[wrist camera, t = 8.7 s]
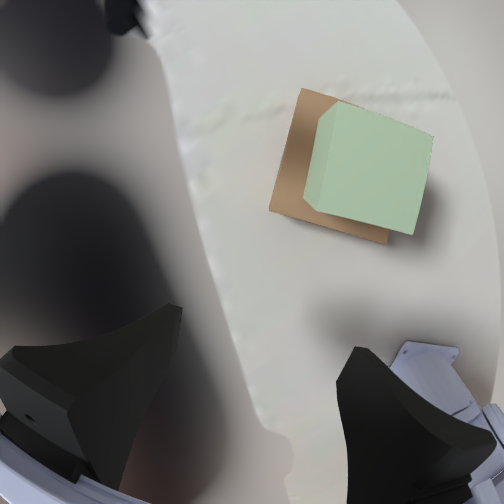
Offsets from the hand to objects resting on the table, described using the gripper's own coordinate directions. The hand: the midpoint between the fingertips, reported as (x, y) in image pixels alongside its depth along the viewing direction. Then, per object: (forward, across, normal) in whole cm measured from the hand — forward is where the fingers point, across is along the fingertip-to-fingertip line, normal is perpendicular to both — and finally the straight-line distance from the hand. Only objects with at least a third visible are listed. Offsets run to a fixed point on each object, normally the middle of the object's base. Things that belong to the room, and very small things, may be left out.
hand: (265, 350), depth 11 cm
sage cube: (+8, -3, -8) cm, 12 cm away
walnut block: (+11, -3, -8) cm, 14 cm away
